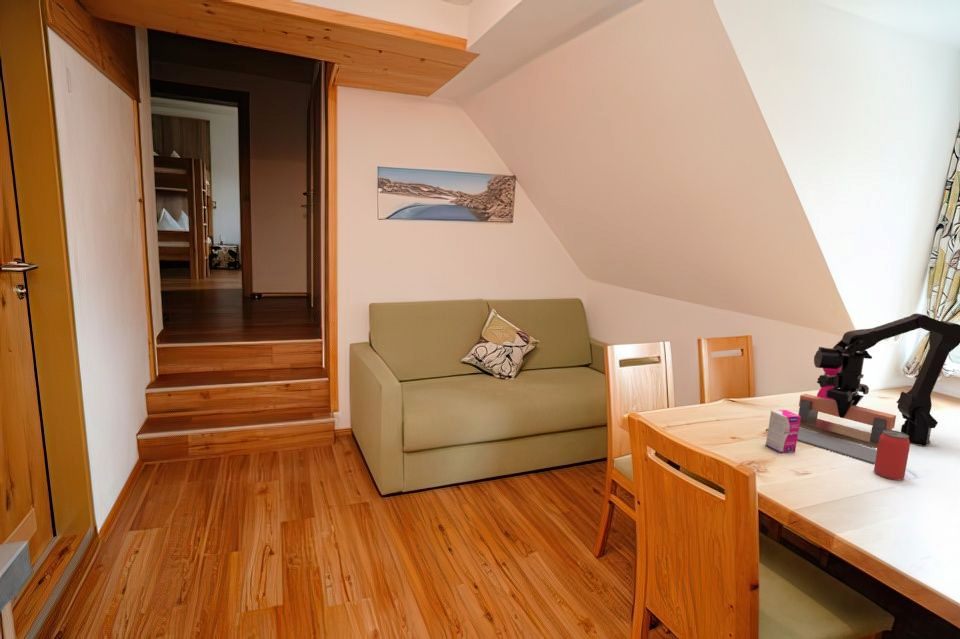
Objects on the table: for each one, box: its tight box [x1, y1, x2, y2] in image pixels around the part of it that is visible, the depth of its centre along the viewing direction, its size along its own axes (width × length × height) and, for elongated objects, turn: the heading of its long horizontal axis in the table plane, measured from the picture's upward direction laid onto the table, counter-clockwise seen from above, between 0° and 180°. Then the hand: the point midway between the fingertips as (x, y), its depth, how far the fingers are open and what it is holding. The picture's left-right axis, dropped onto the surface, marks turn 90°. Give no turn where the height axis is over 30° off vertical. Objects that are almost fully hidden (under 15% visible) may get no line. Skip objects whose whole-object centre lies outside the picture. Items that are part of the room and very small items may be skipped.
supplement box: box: [765, 409, 801, 454], centre depth 158 cm, size 6×6×12 cm
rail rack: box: [797, 399, 893, 449], centre depth 173 cm, size 28×10×9 cm, turn 37°
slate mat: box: [765, 427, 877, 465], centre depth 165 cm, size 30×12×1 cm, turn 37°
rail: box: [798, 393, 897, 430], centre depth 172 cm, size 26×4×4 cm, turn 37°
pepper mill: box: [816, 367, 841, 401], centre depth 199 cm, size 7×7×20 cm
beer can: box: [873, 429, 911, 481], centre depth 142 cm, size 7×7×12 cm
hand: (843, 416), depth 173 cm, fingers closed on rail, 4 cm apart
